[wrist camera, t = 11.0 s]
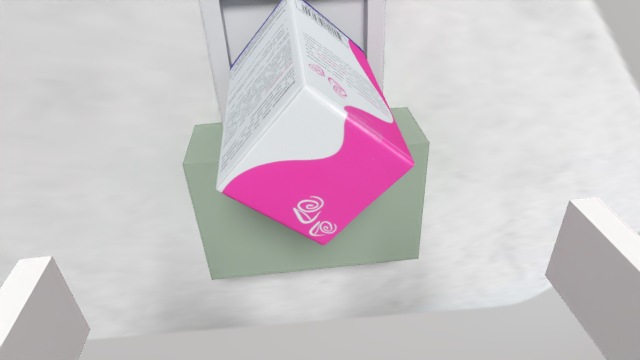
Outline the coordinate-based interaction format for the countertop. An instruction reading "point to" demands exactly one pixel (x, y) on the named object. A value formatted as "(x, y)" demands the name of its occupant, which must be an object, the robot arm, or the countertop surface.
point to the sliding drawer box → (263, 232)
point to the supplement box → (307, 126)
